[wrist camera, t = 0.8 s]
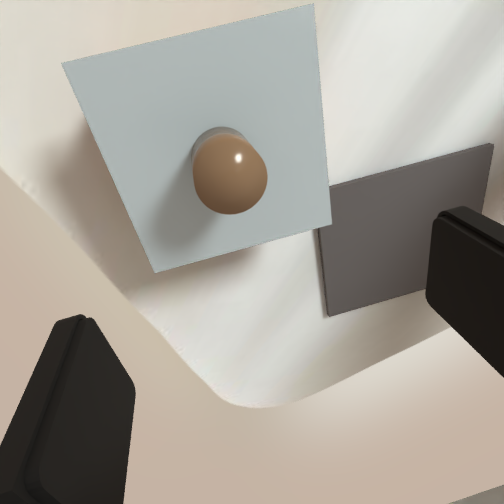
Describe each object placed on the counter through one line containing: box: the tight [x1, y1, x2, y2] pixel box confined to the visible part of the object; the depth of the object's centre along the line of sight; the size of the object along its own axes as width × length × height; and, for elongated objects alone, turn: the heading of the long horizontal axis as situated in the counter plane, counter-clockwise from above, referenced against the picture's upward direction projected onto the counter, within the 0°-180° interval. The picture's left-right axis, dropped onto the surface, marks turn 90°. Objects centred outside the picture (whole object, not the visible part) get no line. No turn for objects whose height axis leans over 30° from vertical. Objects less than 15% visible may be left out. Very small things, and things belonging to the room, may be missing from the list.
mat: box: [318, 143, 494, 317], centre depth 36 cm, size 18×16×1 cm
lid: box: [61, 3, 332, 273], centre depth 20 cm, size 14×14×6 cm
